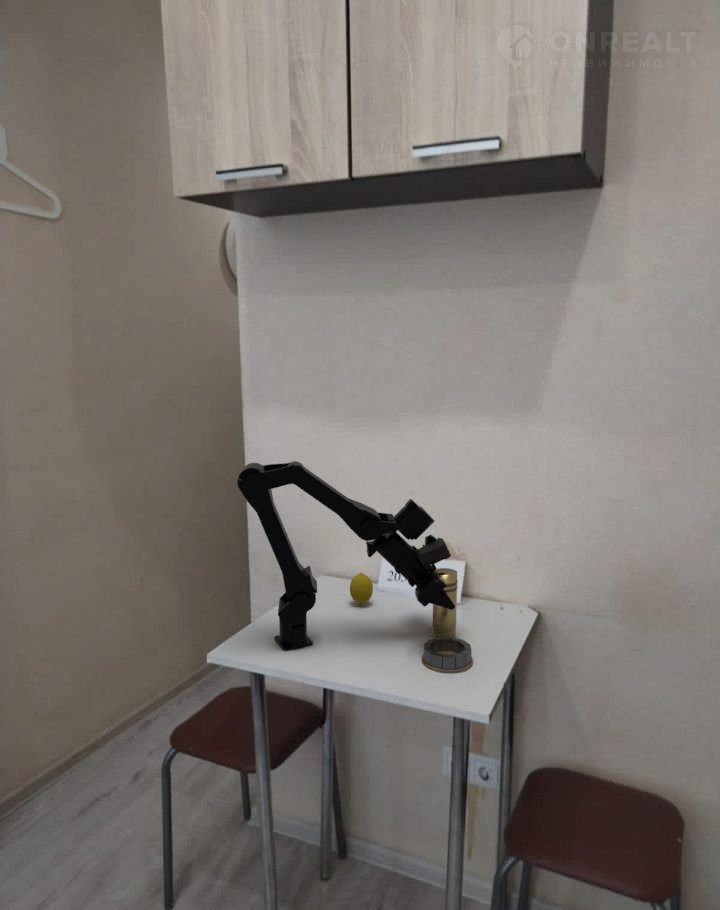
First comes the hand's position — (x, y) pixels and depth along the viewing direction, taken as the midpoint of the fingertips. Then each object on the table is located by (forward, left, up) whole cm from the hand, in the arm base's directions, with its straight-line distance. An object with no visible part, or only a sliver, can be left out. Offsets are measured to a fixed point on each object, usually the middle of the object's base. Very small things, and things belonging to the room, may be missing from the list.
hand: (451, 603), depth 142 cm
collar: (+9, -7, -7) cm, 14 cm away
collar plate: (+9, -7, -7) cm, 14 cm away
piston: (-1, -1, -7) cm, 7 cm away
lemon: (-25, -9, -7) cm, 27 cm away
